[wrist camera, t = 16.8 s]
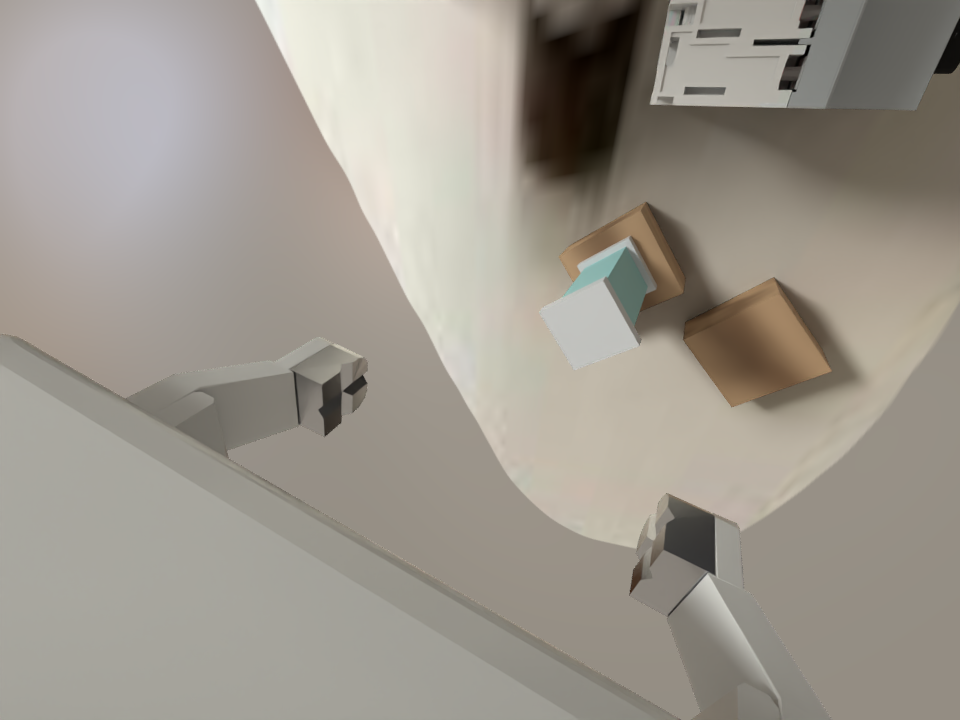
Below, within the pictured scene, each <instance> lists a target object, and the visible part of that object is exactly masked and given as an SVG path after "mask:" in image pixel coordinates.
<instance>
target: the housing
mask: <svg viewBox="0 0 960 720" xmlns="http://www.w3.org/2000/svg"><path fill="white" fill-rule="evenodd" d="M577 267H578V269H579V271H580V273H581V274H580V275H579V276H578V277H577V279H576V280H575V281H574V283H573V284H572V285H571V287H570V288H569V289H568V291H567V292H566V293H565V294H564V296H563V297H562V298H561V299H559V300H557V301H555V302H553V303H551V304H548V305H546V306H544V307H543V308H542V309H541V310H540V312H539V313H540V315H541V317H542V318H543V320H544V322H545V323H546V325H547V327H548V328H549V330H550V332H551V333H552V335H553V337H554V338H555V340H556V342H557V343H558V345H559V346H560V348H561V350H562V351H563V353H564V355H565V356H566V358H567V360H568V361H569V363H570V365H571V366H572V368H573V370H576V369H579V368H582V367H584V366H587V365H590V364H593V363H595V362H598V361H601V360H603V359H606V358H609V357H611V356H614V355H617V354H619V353H622V352H625V351H628V350H630V349H633V348H636V347H638V346H640V343H641V338H640V336H639V334H638V332H637V331H636V329H635V327H634V326H635V323H636V320H637V317H638V314H639V311H640V309H641V306H642V303H643V300H644V297H645V294H647V293H649V292H652V291H654V290H656V288H657V284H656V282H655V280H654V279H653V277H652V275H651V273H650V271H649V269H648V267H647V265H646V263H645V262H644V260H643V258H642V256H641V254H640V252H639V250H638V248H637V246H636V245H635V243H634V241H633V239H632V237H631V236H629V237H627V238H625V239H623V240H621V241H619V242H618V243H616V244H614V245H612V246H610V247H608V248H606V249H604V250H603V251H601V252H599V253H597V254H595V255H593V256H591V257H590V258H588V259H586V260H584V261H582V262H580V263H579V264H578V265H577Z"/></svg>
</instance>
